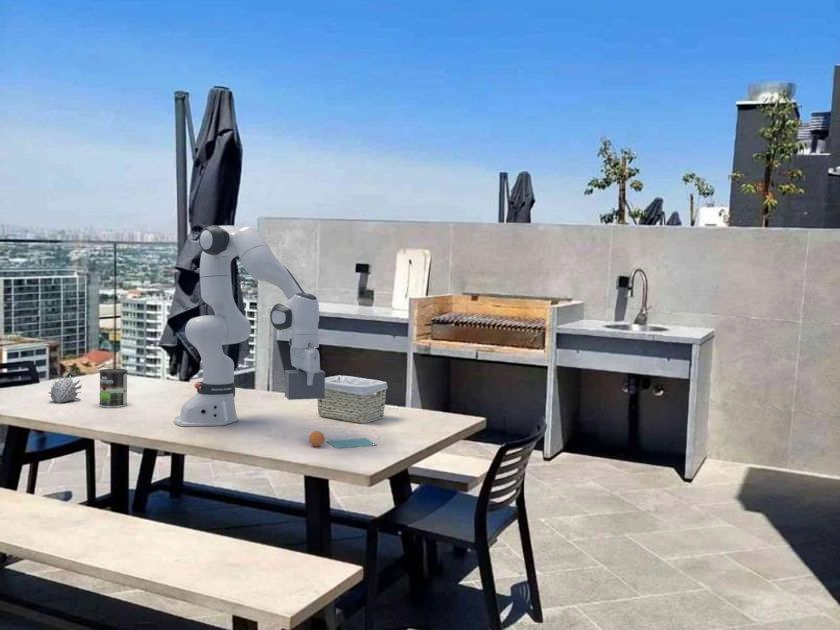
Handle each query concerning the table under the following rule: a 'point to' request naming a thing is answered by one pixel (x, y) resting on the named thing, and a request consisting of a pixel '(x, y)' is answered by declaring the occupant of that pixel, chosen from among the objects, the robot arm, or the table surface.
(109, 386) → the coffee can
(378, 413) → the storage basket
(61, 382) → the sea urchin
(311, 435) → the ball
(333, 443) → the teal flat pad
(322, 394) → the slate gray brick
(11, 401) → the table surface
